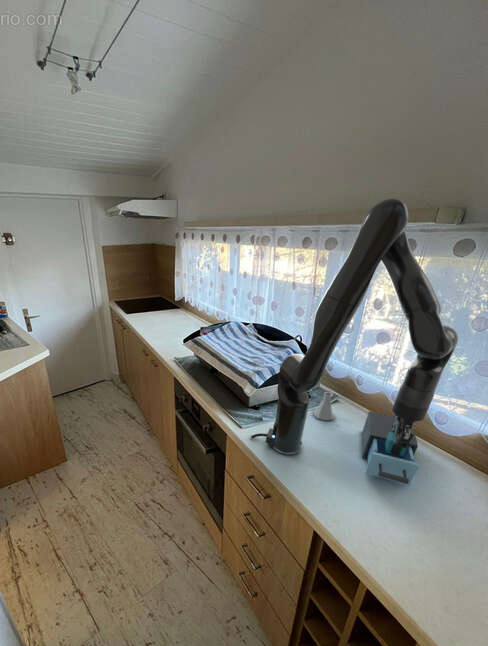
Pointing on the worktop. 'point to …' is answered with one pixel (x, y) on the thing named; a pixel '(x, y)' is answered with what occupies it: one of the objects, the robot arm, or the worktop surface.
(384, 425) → the grey hollow box
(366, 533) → the worktop surface
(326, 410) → the flask
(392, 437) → the teal block
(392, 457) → the light blue drawer box
